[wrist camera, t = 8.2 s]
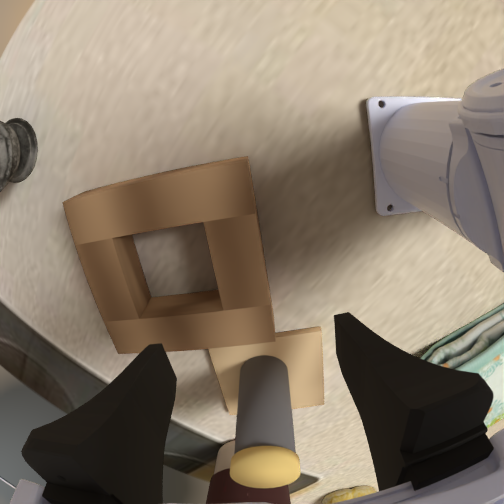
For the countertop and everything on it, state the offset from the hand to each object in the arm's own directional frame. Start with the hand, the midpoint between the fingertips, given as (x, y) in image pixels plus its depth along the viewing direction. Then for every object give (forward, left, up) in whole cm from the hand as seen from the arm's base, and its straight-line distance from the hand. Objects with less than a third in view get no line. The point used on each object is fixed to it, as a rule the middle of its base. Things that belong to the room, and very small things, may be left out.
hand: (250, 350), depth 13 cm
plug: (+1, +11, -10) cm, 14 cm away
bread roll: (-8, +43, -11) cm, 45 cm away
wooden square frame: (+5, -1, -10) cm, 12 cm away
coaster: (0, +11, -10) cm, 15 cm away
